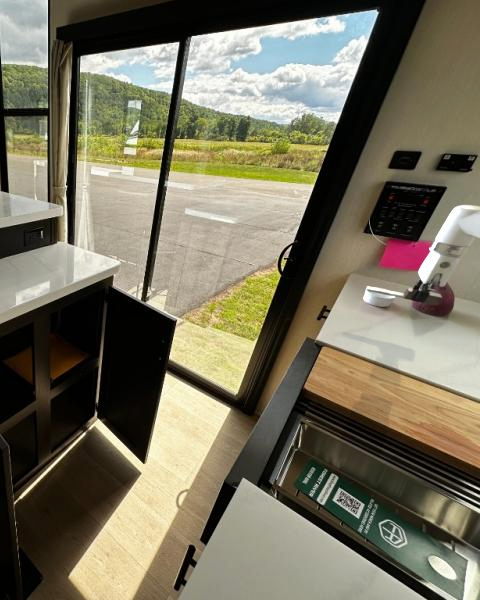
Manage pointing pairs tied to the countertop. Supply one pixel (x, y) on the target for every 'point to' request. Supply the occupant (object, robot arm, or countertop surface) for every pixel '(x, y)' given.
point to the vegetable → (444, 304)
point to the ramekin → (378, 298)
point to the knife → (408, 294)
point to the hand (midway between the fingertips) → (416, 298)
